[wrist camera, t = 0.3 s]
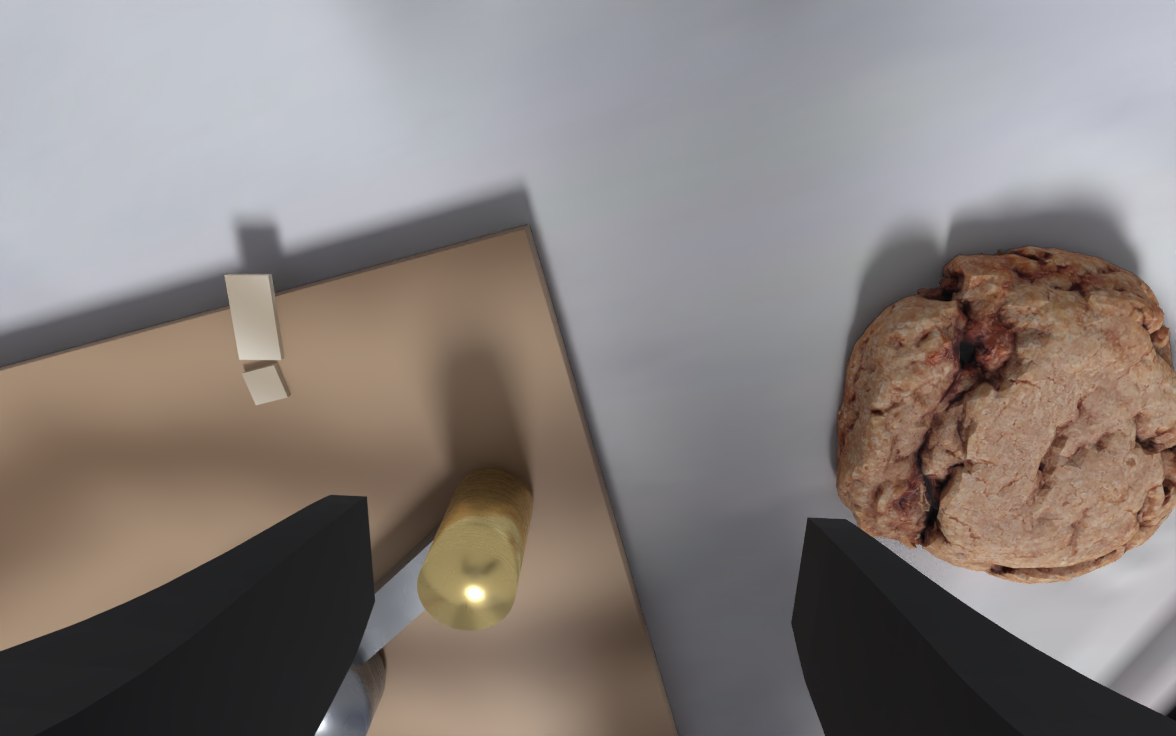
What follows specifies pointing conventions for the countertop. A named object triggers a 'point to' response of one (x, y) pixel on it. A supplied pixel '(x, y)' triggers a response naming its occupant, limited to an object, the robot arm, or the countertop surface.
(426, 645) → the brown cutting board
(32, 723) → the robot arm
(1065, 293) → the cookie
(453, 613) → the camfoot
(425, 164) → the countertop surface
